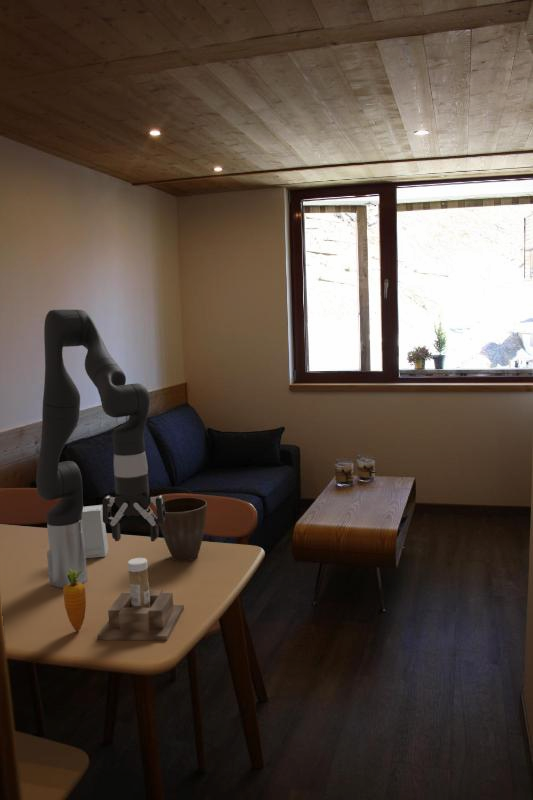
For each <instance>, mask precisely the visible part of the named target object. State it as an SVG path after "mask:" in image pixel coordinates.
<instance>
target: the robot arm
mask: <svg viewBox="0 0 533 800" xmlns="http://www.w3.org/2000/svg"><path fill="white" fill-rule="evenodd" d="M43 328H44V330H43V332H44V333H43V335H44V336H43V337H44V339H43V341H44V386H43V396H42V415H41V416H42V421H41V422H42V424H41V425H42V426H41V436H40V437H41V439H40V447H39V449H40V450H39V456H38V461H37V466H36V467H37V469H36V476H35V482H36V490H37V493H38V495H39V496H40V498H41V499H42V500H45V501H53V500H56V499H59V501H58V502H57V503H56V504H55V505H54V506H53V507H52V508H51V509H49V510H48V511H47V513H46V516H45V520H46V525H47V534H48V535H47V538H48V547H49V548H48V550H47V552H46V558H47V559H46V561H47V569H48V580H49V586H54V587H57V588H62V589H63V588H64V587H65V586H66V585H68V584H70V581H69V579H68V577H67V573H69V571H68V570H69V569H72V573H73V571H76V575H77V573H78V572H79V571H82V572H81V573H80V574H79V576H78V578H77V579H78V581H77V583H82V584H84V583H86V582H87V580H88V570H87V558H86V556H85V545H84V534H83V524H82V511H83V507H84V498H83V497H84V496H83V477H82V472H81V470H80V468H79V466H78V465H77V463H76V462H74V461H73V460H72V461H71V460H65V461H61V462H60V458H61V454H62V451H63V449H64V447H65V445H66V443H67V442H68V440H69V438H70V437H71V436H72V434H73V432H74V430H75V429H76V428H77V425H78V423H79V419H80V409H81V407H80V406H81V395H80V392H79V389H78V388H77V386H76V383H75V382H74V381H73V379H72V377H71V376H70V374H69V372H68V371H67V369H66V367H65V364H64V359H63V350H64V349H63V348H65V347H67V348H69V347H71V348H72V347H81V346H83V347H84V348H85V349H86V350H87V352H86V355H85V359H84V370H85V372H86V375H87V376H88V378H89V379H90V381H91V382H92V383H93V384H94V387H96V389H97V392H98V395H99V397H100V402H101V407H102V410H103V412H104V413H105V414H106V415H107V416H109V417H111V418H114V419H115V418H117V419H118V418H123V417H128V420H127V422H126V423H124V424H123V425H120V426H118V427H116V428H115V429H114V430H113V431H112V448H113V463H112V464H113V475H114V476H113V477H114V489H115V491H114V492H115V497H114V496H111V495H109V494H108V495H106V496H104V498H102V502H101V503H102V504H101V505H102V510H103V523H105V524H108V525H110V526H111V537H112V539H114V542H119V541H120V540H121V538H122V536H121V535H122V534H121V525H120V524H121V523H119V522H120V520H121V519H122V517H123V516H126V517H131V516H135V517H140V516H142V518H144V519H145V520H147V522H148V523H149V525H150V526H149V529H150V530H149V532H150V542H156V540H157V539H158V537H159V535H160V533H159V525H160V524H159V523H163V521H164V520H165V519H166V514H165V506H164V501H165V500H164V496H163V495H162V494H159V495H158V496H151V494H150V487H149V486H150V485H149V472H148V470H149V466H148V460H147V454H146V445H145V430H146V424H147V420H148V419H147V418H148V415H149V409H150V403H151V401H150V400H151V399H150V393H149V391H148V389H147V388H146V387H145V386H144V384H143V383H142V384H141V383H137V382H136V383H130V384H129V383H128V384H126V382H127V378H126V374H125V372H124V371H123V370H122V369H121V367H120V366H119V365H118V363H117V362H116V360H114V358H113V357H112V356H111V354H110V353H109V352H108V349H107V347H106V345H105V342H104V341H103V339H102V337H101V334H100V332H99V329H98V327H97V326H96V324H95V322H94V320H93V319H92V317H91V315H90V314H89V313H88V312H87V311H85V310H82V309H52V310H49V311H48V312H47V314H46V316H45V319H44V327H43ZM151 503H152V504H153V506H154V507H155V510H156V509H157V512H156V514H155V513H154V511H153V509H152V508H151V507H150V504H151ZM114 504H115V506H116V507H117V508H118V511H117V512H116V514H115V515H114V517H113V516H112V506H114ZM156 515H157V516H156ZM76 575H75V576H76Z"/></svg>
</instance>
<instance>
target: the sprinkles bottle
mask: <svg viewBox="0 0 533 800" xmlns="http://www.w3.org/2000/svg"><path fill="white" fill-rule="evenodd" d="M148 563H149V562H148V560H147V558H144V557H136V558H132V559H129V560H128V561H127V570H128V576H129V589H130V590H129V591H130V592H129V593H131V603H132V608H150V594H149V590H150V585H149V584H150V583H149V575H148V568H149V564H148Z"/></svg>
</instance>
